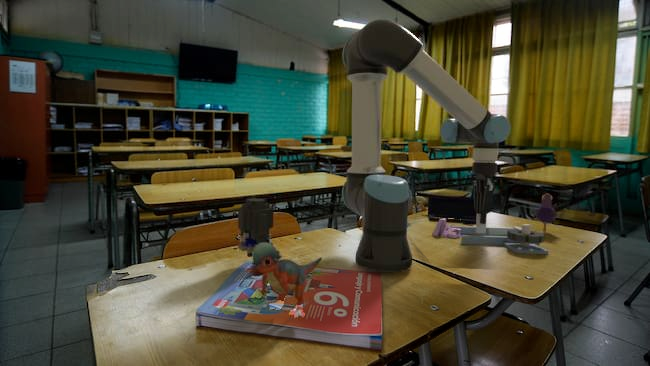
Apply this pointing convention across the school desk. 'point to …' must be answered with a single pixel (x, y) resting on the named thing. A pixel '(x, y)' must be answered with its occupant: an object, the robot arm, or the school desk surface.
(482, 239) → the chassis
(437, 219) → the black laptop
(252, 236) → the toy
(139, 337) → the school desk surface
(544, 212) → the toy
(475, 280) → the school desk surface
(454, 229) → the letters
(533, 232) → the wheel
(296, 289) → the toy
